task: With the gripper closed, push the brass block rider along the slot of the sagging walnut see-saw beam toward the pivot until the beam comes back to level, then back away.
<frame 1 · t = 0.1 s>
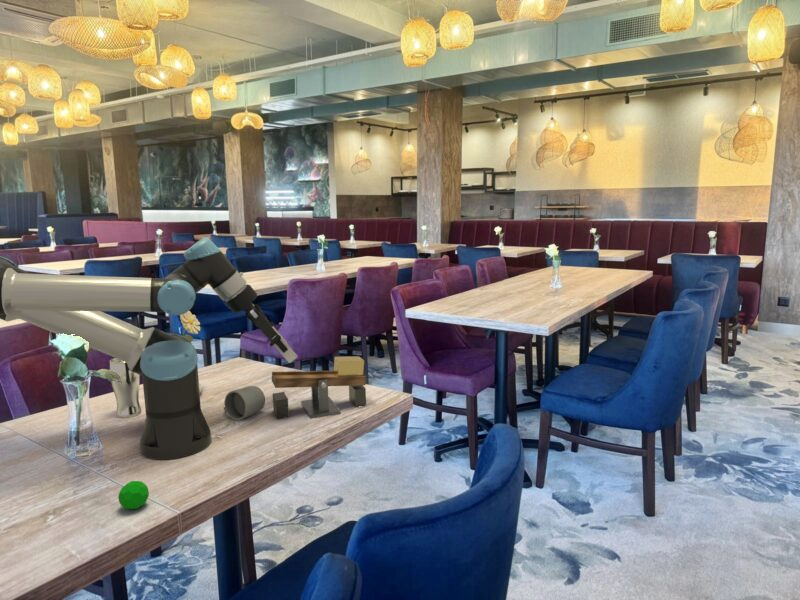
hand: (288, 353, 148), 15 cm above the table, tool tilted 35°, fingers open, 13 cm apart
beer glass: (129, 414, 149), on the table
beam: (319, 378, 149), point 8 cm above the table, hinge at 6.0°, touching rider
rider: (348, 376, 152), point 8 cm above the table, tilted 6°, touching beam
polyhedron: (135, 508, 102), on the table
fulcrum: (320, 408, 150), on the table
flower in vase: (184, 395, 163), on the table
ceramic mug: (242, 415, 147), on the table
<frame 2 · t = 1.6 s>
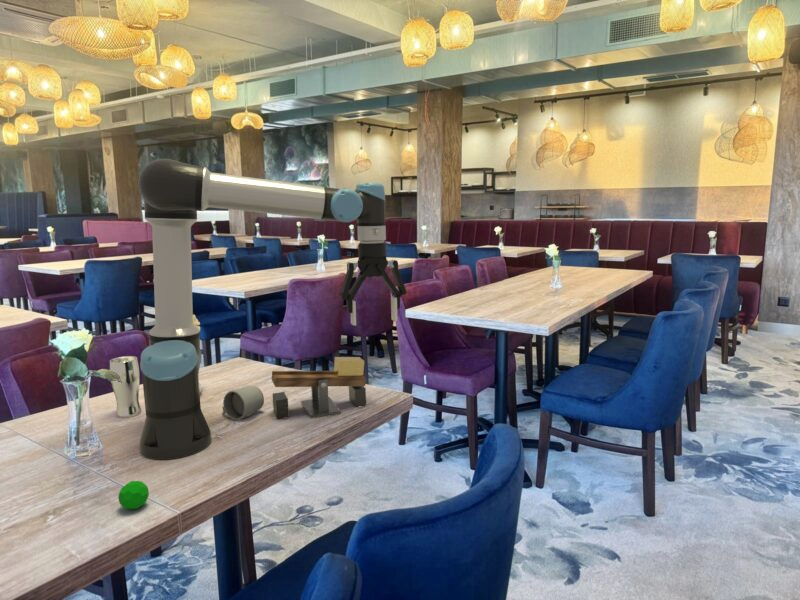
hand: (374, 322, 152), 22 cm above the table, tool pointing down, fingers open, 11 cm apart
beam: (319, 378, 149), point 8 cm above the table, hinge at 6.9°, touching rider
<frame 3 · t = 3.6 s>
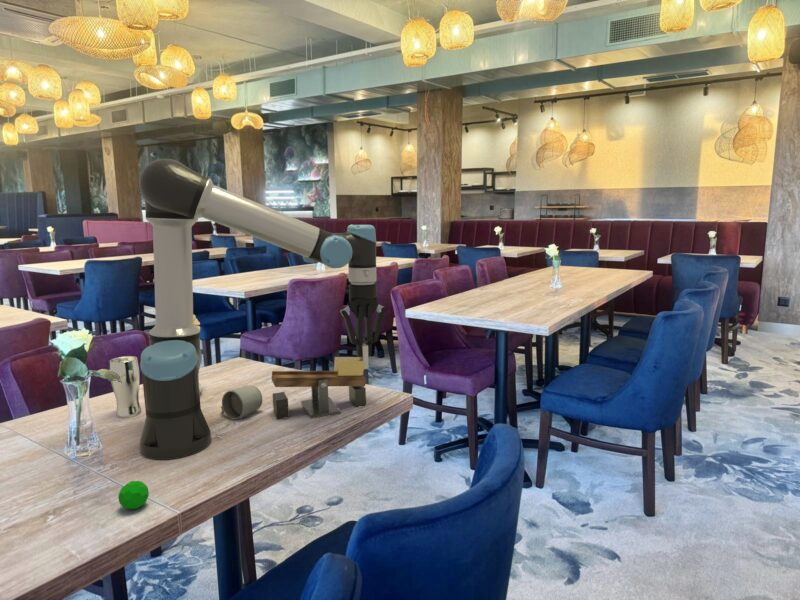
hand: (364, 367, 153), 10 cm above the table, tool pointing down, fingers closed
rider: (348, 376, 152), point 8 cm above the table, tilted 7°, touching beam, gripper
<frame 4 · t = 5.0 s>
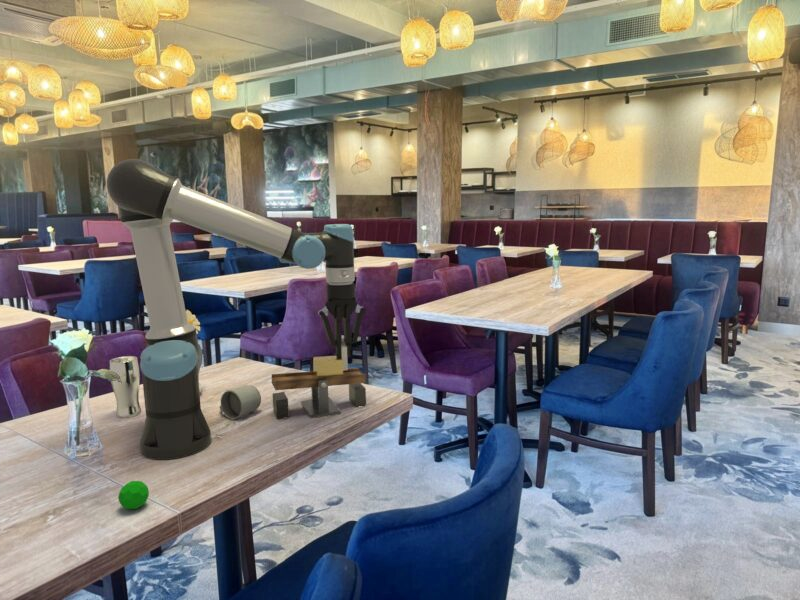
hand: (343, 369, 151), 10 cm above the table, tool pointing down, fingers closed
beam: (319, 378, 149), point 8 cm above the table, hinge at 2.9°
rider: (327, 376, 150), point 9 cm above the table, touching gripper
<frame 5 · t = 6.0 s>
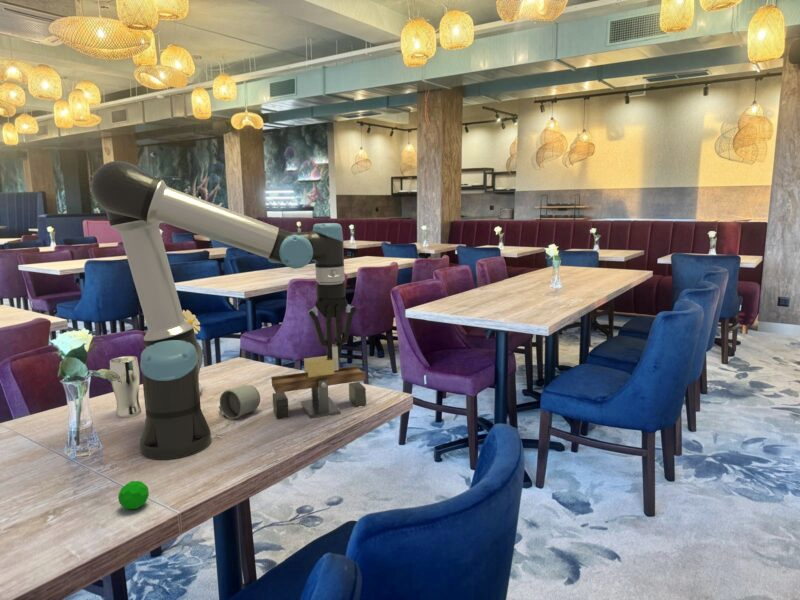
hand: (334, 369, 150), 10 cm above the table, tool pointing down, fingers closed
beam: (319, 378, 149), point 8 cm above the table, hinge at -0.6°, touching rider
rider: (319, 377, 149), point 9 cm above the table, touching beam, gripper
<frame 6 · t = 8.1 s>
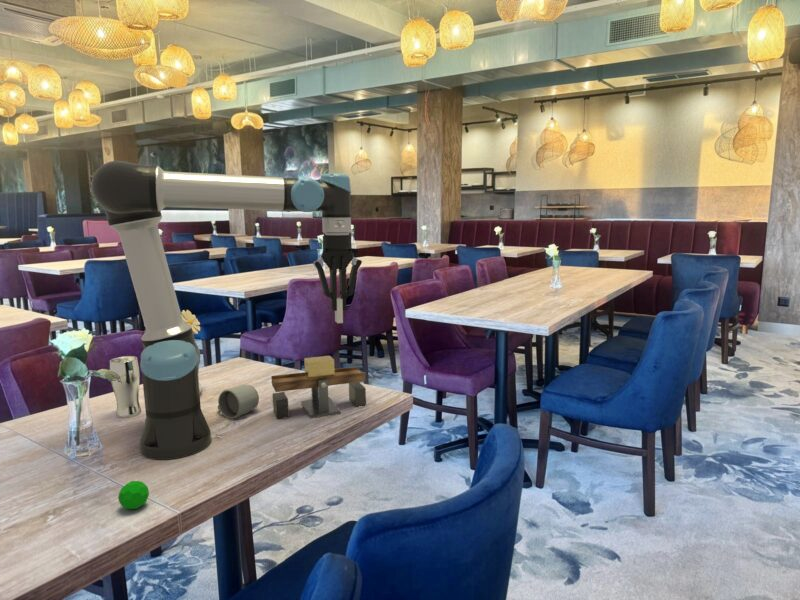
hand: (339, 322, 150), 23 cm above the table, tool pointing down, fingers closed
beam: (319, 378, 149), point 8 cm above the table, hinge at 0.6°, touching rider
rider: (319, 377, 149), point 9 cm above the table, touching beam
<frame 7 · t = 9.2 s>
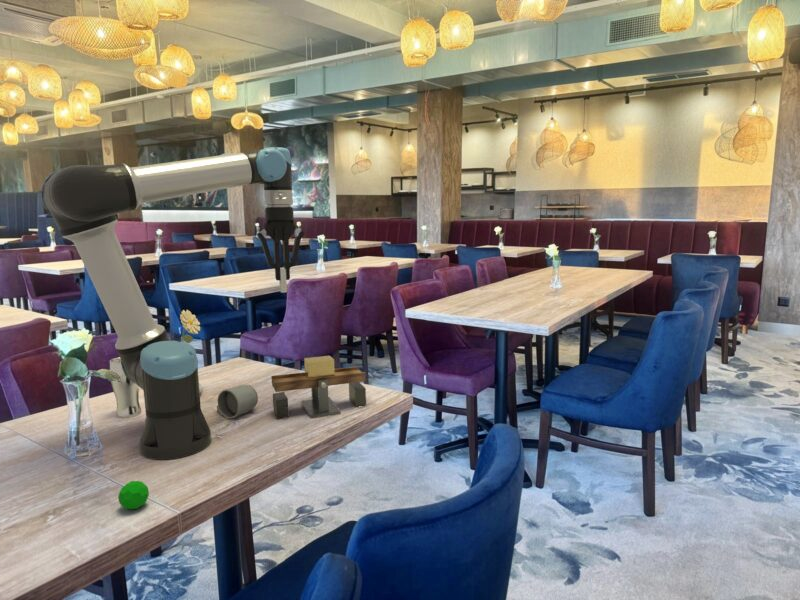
hand: (283, 291, 156), 30 cm above the table, tool pointing down, fingers closed
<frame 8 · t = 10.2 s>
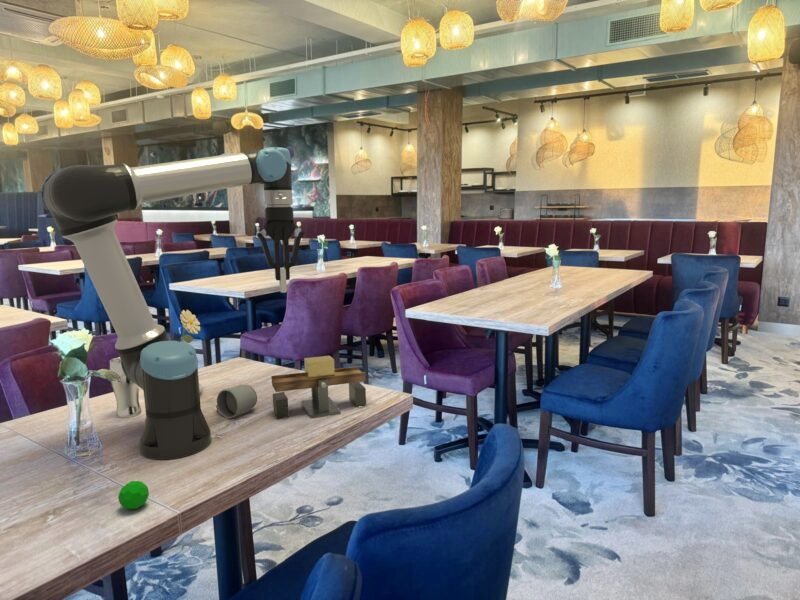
hand: (283, 291, 156), 30 cm above the table, tool pointing down, fingers closed
at the end: beam at +1° (first picture: +5°); rider 0.2 cm from the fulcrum (horizontally); rider point 8.8 cm above the table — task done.
